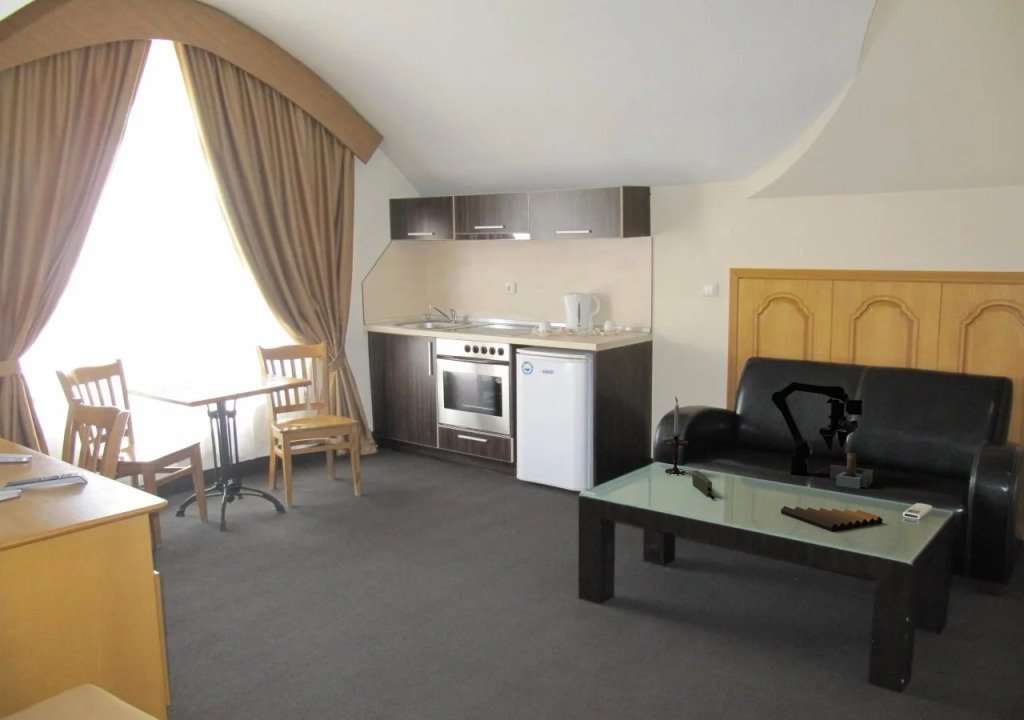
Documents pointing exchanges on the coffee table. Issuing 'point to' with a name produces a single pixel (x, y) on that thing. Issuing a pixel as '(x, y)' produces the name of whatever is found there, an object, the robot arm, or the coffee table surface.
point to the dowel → (851, 464)
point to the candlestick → (675, 443)
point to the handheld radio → (702, 484)
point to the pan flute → (832, 518)
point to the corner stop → (865, 473)
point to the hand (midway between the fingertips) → (836, 448)
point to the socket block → (849, 480)
